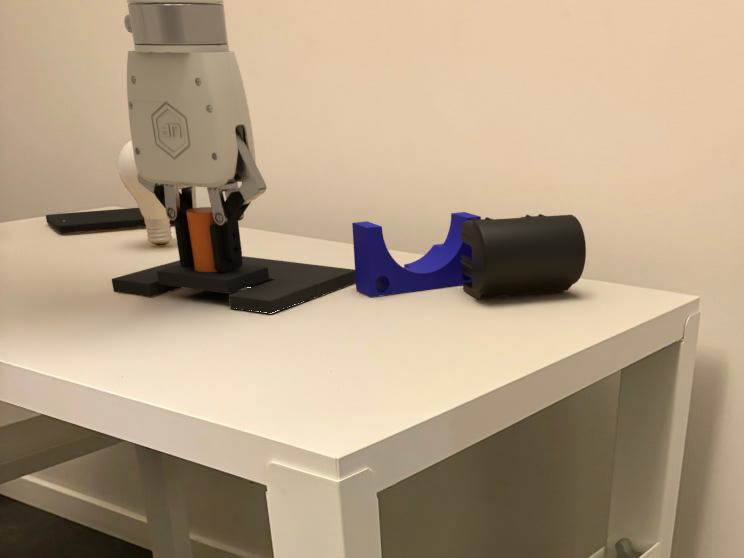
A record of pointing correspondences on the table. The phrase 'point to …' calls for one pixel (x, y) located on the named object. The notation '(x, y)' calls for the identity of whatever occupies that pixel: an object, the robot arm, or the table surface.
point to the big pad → (275, 294)
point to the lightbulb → (144, 199)
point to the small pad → (214, 278)
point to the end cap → (522, 255)
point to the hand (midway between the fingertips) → (211, 265)
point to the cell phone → (97, 220)
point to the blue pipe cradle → (428, 272)
